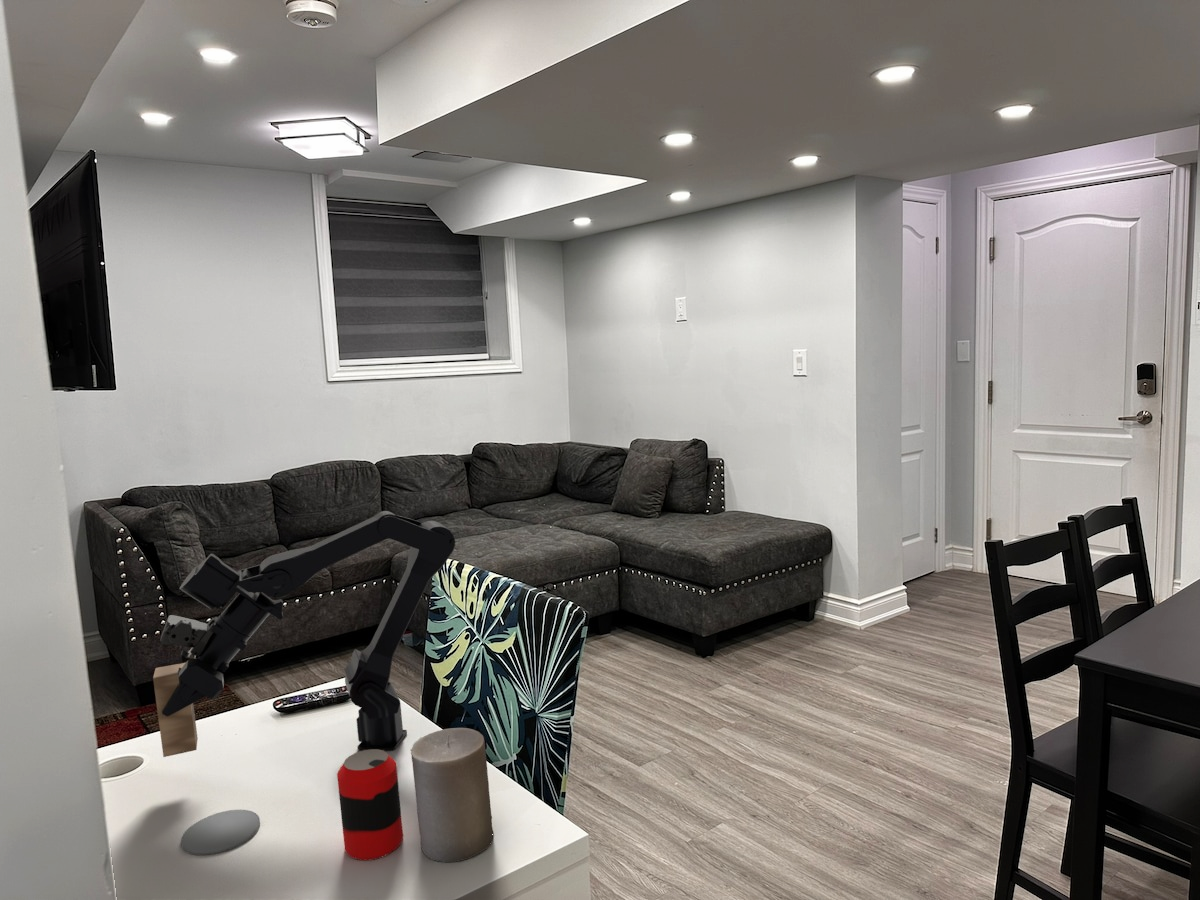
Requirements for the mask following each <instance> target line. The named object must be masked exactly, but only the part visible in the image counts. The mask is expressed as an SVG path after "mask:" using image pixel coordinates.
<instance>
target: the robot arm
mask: <svg viewBox="0 0 1200 900" xmlns="http://www.w3.org/2000/svg"><path fill="white" fill-rule="evenodd" d="M388 539H390V540H393V541H396V542H398V543H401V544H403V545H406V546H408V547H409V550H408V551H409V552H408V558H407V559H408V560H407V564H406V569H405V570H404V573H403V575H402V577H401V579H400V580H399V583H398V585H397V587H396V589H395V591H394V594H393V596H392V598H391V599H390V602H389V604H388V606H387V608H386V610H385V612H384V614H383V617H382V619H381V621H380V623H379V624H378V627H377V629H376V631H375V633H374V635H373V637H372V639H371V641H370V643H369V644H368V646H367V647H366V648H365V649H363V651H360V650H358V649H356V648H355V649H353V651H352V655H351V658H350V661H349V663H348V664H347V665H346V667H345V668H343V671H344V674H345V678H344V682H345V683H344V684H345V686H346V689H347V692H348V695H349V698H350V701H351V702H352V703H353V705H355V706H356V707H358V708H359V709H358V717H357V718H356V728H357V737H358V738H357V739H358V742H359V744H358V745H357V746H356V747H357V750H358V751H364V750H370V749H379V750H383V751H393V750H396V748H398V746H399V744H400V743H401V742H402V740H403V739H404V738H405V736H406V735H407V733H408V730H407V729H404V726H403V718H402V717H403V714H402V703H401V700H400V698H399V696H398V694H397V692H396V690H395V687H394V686H393V684H392V682H390V677H391V670H392V664H393V659H394V655H395V653H396V651H397V650H398V646H400V642H401V640H402V639H403V636H404V635H405V633H406V630H407V628H408V626H409V623H411V620H412V617H413V615H414V614H415V612H416V609H417V607H418V606H419V603H420V601H421V598H422V596H423V595H424V592H425V590H426V588H427V586H428V584H429V582H430V581H431V579H432V578H434V576H435V575H436V574H437V573H438V572H439V571H440V570H441V569H442V568H443V566H444V565H445V564H446V562H447V561H448V560H449V558H450V557H451V556H452V554H453V553H454V550H455V548H456V540H455V537H454V534H453V533H452V532H451V530H450V529H448V528H447V527H446V526H444V524H442V523H441V522H438V521H436V520H427V521H424V522H421V521H419V520H415V519H413V518H409V517H405V516H401V515H398V514H395V513H393V512H391V511H388V510H383V511H379V512H378V513H376V514H375V515H374V516H372V517H370V518H368V519H366V520H363V521H362V522H359V523H357V524H355V525H353V526H351V527H348V528H346V529H345V530H342V531H340V532H338V533H336V534H334V535H331V536H329V537H326V539H323V540H321V541H319V542H317V543H314V544H312V545H309V546H305V547H301V548H296V549H291V550H287V551H282V552H279V553H275V554H272V555H269V556H268V557H266V558H265V559H263V561H261V563H260V564H257V565H253V566H250V567H246V568H242V569H239V570H237V571H236V570H235V569H234V568H233V567H230V566H229V565H228V564H226V563H225V562H223V561H222V560H221V559H220V558H219V557H218V556H217V555H216V554H214V553H210V554H208V556H207V557H206V558H205V559H204V560H202V562H201V563H199V565H196V566H194V568H193V569H192V570H191V572H190V573H189V574H188V575H187V576H186V578H185V579H184V580H183V581H182V583H181V585H180V587H179V590H180V591H182V592H183V593H185V595H188V596H190V597H191V598H192V599H194V600H196V601H197V602H199V603H201V604H202V605H204V606H205V607H207V608H208V609H209V610H214V608H216V609H217V610H218V609H220V608H221V609H223V608H224V607H225V606H226V605H227V604H228V603H229V602H230V600H231V599H232V598H233V597H234V595H236V593H238V594H237V595H236V596H235V597H234V598H233V600H232V601H231V602H230V603H229V604H228V606H227V607H226V608H225V609H224V610H223V611H222V612H221V614H220V615H219V616H218V617H217V616H215V617H211V619H210V620H209V621H208V623H205V622H201V621H199V620H196V619H193V618H192V619H191V618H187V617H182V616H179V615H175V614H171V615H168V617H167V620H166V623H165V625H164V628H163V630H162V633H161V637H160V640H159V641H160V642H161V643H162V644H164V645H165V644H166V645H168V646H169V645H175V646H180V647H185V648H187V649H188V648H190V650H189V649H188V651H186V650H184V649H182V651H181V654H180V658H181V663H185V664H184V665H183V667H182V668H180V667H179V669H178V678H179V684H178V686H177V687H176V689H175V691H174V692H173V694H172V696H171V697H170V699H169V701H168V702H167V704H166V706H165V707H164V709H163V711H162V714H163V715H165V716H170V715H172V714H174V713H175V712H177V711H179V710H181V709H183V708H185V707H187V706H189V705H191V704H192V703H193V704H195V703H196V702H198V701H200V700H203V699H204V698H206V697H207V698H209V700H212V701H215V700H216V699H217V698H218V697H219V696H220V695H221V693H222V692H223V691H224V684H225V681H224V673H225V672H226V671H227V670H229V669H228V668H229V667H230V666H229V665H230V662H231V661H232V659H234V657H235V656H236V655H237V654H238V653H239V652H240V650H241V651H242V652H243V651H244V649H246V647H247V646H248V640H249V639H251V637H252V636H253V635H254V634H255V632H256V631H257V630H258V629H259V627H260V626H261V625H262V624H263V623H264V622H265V620H266V619H267V618H268V617H269V616H270V615H271V616H273V617H274V618H275V619H277V620H279V621H282V620H283V619H284V615H283V614H284V613H283V605H284V602H283V599H282V598H286V597H288V596H289V595H291V594H292V593H294V592H296V591H297V590H298V589H299V588H301V587H303V586H304V585H305V584H306V583H308V582H309V581H310V580H311V579H312V578H313V577H315V575H316V574H318V573H319V572H321V571H323V570H324V569H326V568H328V567H330V566H332V565H334V564H336V563H339V562H341V561H343V560H345V559H347V558H349V557H351V556H353V555H355V554H358V553H359V552H360V553H361V552H362V551H364V550H365V549H369V548H370V547H372V546H374V545H376V544H379V543H381V542H383V541H384V540H388ZM270 597H271V598H270ZM272 598H275V599H272ZM217 669H218V670H217ZM222 672H223V673H222Z"/></svg>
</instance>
